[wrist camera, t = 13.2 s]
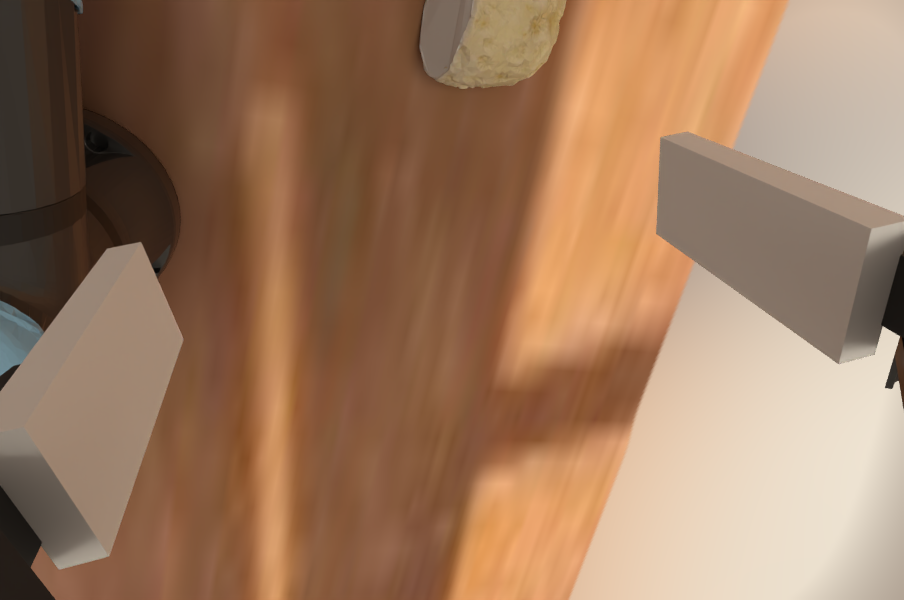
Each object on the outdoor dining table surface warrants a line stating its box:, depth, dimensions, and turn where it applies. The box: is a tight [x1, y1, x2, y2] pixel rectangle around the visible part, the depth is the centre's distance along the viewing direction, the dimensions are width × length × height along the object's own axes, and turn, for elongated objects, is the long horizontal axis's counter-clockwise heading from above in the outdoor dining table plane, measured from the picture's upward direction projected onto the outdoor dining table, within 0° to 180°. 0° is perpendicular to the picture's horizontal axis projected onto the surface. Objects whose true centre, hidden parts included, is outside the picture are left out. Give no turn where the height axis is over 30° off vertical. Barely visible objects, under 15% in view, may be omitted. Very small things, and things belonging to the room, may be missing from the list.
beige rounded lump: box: [419, 0, 566, 89], centre depth 39 cm, size 10×10×10 cm
